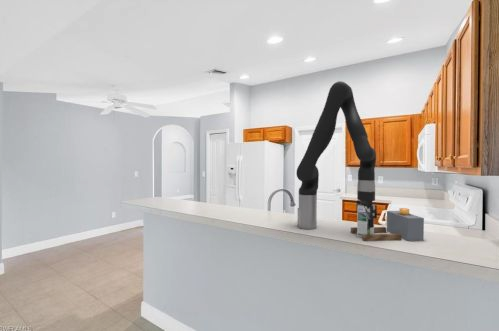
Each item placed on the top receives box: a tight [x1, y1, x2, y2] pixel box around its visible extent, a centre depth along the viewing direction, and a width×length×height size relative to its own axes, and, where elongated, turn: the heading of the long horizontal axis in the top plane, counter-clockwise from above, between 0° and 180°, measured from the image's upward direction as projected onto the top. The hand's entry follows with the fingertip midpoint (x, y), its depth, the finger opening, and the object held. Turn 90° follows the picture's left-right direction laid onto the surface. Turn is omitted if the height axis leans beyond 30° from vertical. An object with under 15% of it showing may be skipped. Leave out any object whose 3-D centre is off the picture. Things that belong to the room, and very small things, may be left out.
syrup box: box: [356, 205, 375, 238], centre depth 122 cm, size 6×6×14 cm
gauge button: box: [398, 207, 410, 216], centre depth 123 cm, size 4×4×4 cm
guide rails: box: [350, 226, 402, 242], centre depth 123 cm, size 17×13×2 cm
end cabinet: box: [386, 210, 425, 242], centre depth 124 cm, size 7×16×10 cm, turn 4°
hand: (365, 225), depth 122 cm, fingers closed on syrup box, 8 cm apart
